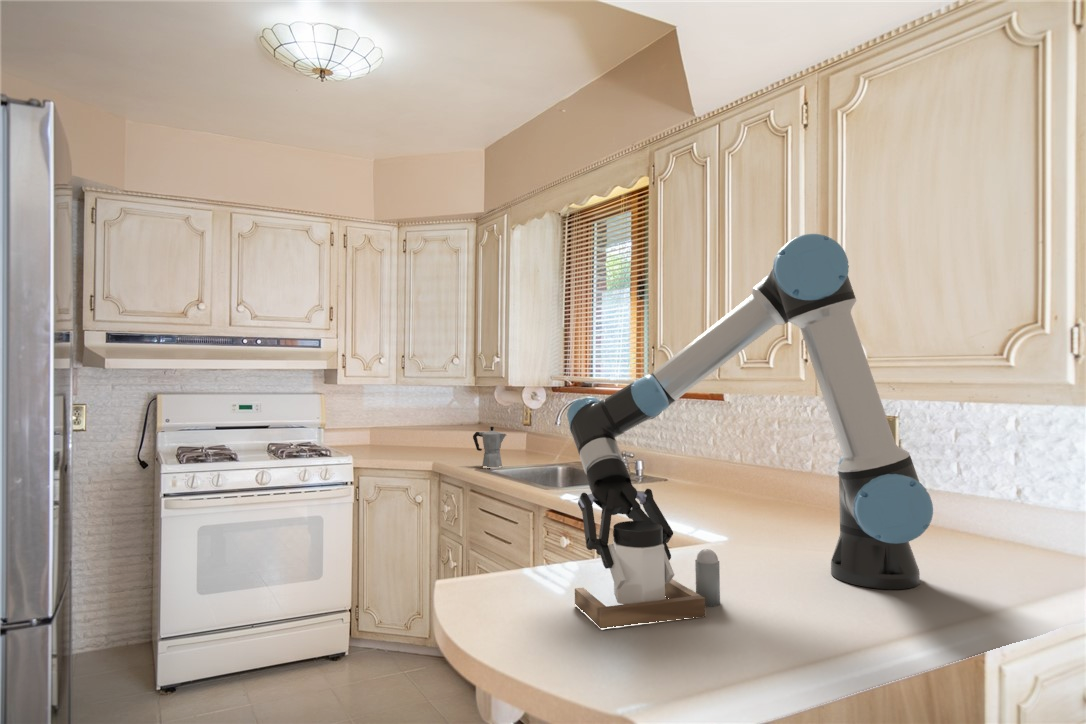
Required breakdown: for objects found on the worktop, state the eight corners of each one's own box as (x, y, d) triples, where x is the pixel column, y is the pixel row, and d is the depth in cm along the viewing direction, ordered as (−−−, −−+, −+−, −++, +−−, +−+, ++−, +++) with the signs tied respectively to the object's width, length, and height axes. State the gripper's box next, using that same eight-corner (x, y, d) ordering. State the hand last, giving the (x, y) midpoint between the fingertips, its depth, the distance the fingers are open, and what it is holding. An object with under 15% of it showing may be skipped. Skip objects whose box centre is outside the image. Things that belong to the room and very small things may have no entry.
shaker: (724, 602, 114) (723, 549, 114) (711, 608, 111) (710, 553, 112) (704, 597, 117) (703, 545, 117) (691, 602, 114) (690, 549, 114)
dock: (574, 606, 113) (574, 588, 113) (670, 595, 118) (670, 577, 118) (601, 630, 102) (601, 610, 102) (705, 616, 107) (705, 598, 107)
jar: (611, 590, 115) (610, 520, 116) (658, 589, 115) (657, 519, 116) (617, 608, 106) (616, 532, 107) (668, 607, 106) (667, 531, 107)
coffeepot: (510, 467, 294) (509, 426, 294) (503, 469, 285) (503, 427, 285) (477, 466, 298) (476, 425, 298) (469, 468, 289) (469, 427, 289)
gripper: (649, 478, 129) (694, 587, 113) (547, 484, 123) (579, 600, 107) (662, 453, 124) (710, 563, 108) (556, 458, 118) (591, 576, 102)
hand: (645, 581), depth 108 cm, fingers closed on jar, 8 cm apart
